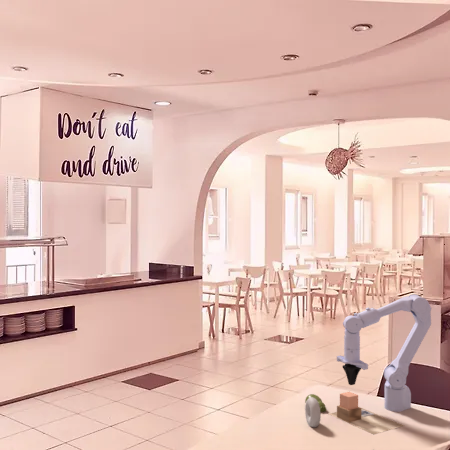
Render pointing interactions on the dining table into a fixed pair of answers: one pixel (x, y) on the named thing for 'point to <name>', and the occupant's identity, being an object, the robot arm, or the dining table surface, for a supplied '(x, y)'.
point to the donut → (312, 412)
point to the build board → (372, 422)
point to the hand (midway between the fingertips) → (351, 384)
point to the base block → (349, 414)
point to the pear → (321, 404)
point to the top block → (348, 400)
